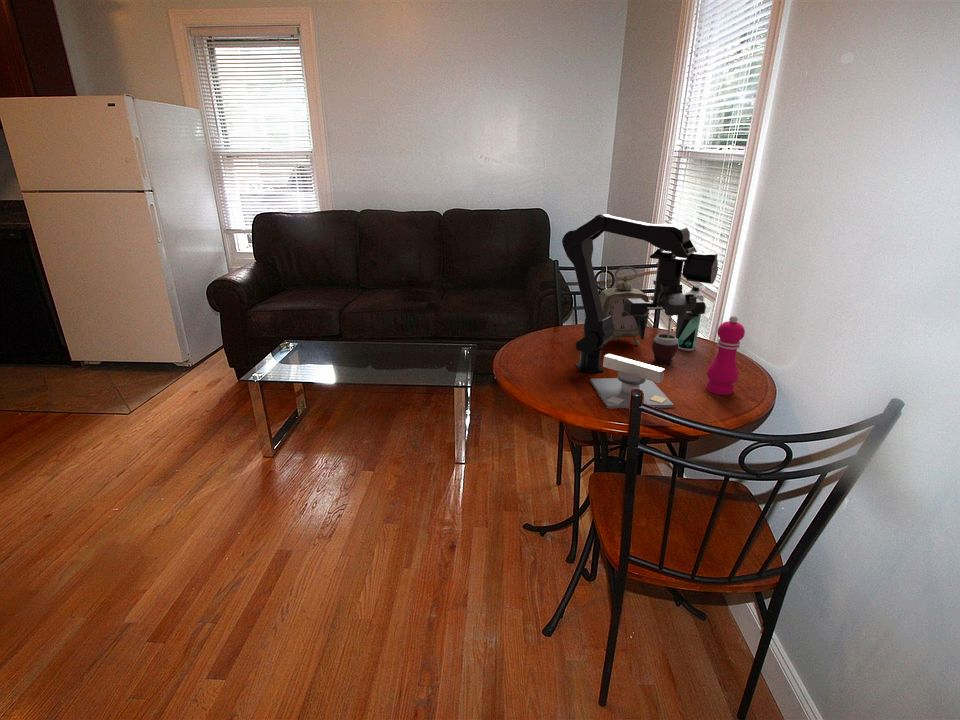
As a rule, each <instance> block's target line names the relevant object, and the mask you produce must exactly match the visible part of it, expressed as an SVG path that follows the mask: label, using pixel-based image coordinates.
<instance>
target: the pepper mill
mask: <svg viewBox="0 0 960 720" xmlns="http://www.w3.org/2000/svg"><path fill="white" fill-rule="evenodd" d="M745 333H746V332H745V328H744V325H742V323H740V322H738V317H737V315H732V316H730V317H729V321H724V322H722V323H721V324H720V325H719V326H718V328H717V333H716V334H717V336H718V339H717V343H716V344H717V346H718V348H717V349H718V350H717V353H716V356H715V357H714V359H713V360H712V362H711V363H710V364H709V366H708V368H707V372H706V376H707V378H708V380H707V382H706V390H707V391H709V392H710V393H712V394H715V395H719V396H720V395H721V396H729V395H732V394H733V391H734V388H735V386H734V384H735V383H736V382H737V381H738V379H739V369H738V366H737V361H736V360H737V359H736V354H737V351H738V349H739V348H740V345H741V342H740V341H741V340H743V339H744V337H745Z"/></svg>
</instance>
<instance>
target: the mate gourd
mask: <svg viewBox="0 0 960 720" xmlns="http://www.w3.org/2000/svg"><path fill="white" fill-rule="evenodd" d="M671 323H672V316H668V328H667V333H660V334H657V335H656V336H655V337H654V338H653V342H652V343H651V344H652V346H651V348H652V353H653V358H654V361H653V362H652V363H653V365H658V364H664V365H666V366H667V367H671V365H672V364H671V363H672V362H673V358H674V357H675V356H676V354H677V352H678V350H679V349H678V339H677V338H676V335H675V336H674V335H672V334H670V333H671Z"/></svg>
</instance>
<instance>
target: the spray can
mask: <svg viewBox="0 0 960 720" xmlns="http://www.w3.org/2000/svg"><path fill="white" fill-rule="evenodd" d="M684 294H695V295H696V296H697V299H699V300H701V301H703V302H704V301H705V297H704V296H705V294H704V293H702V292H701V290H700V286H699V285H693V286H692V288H691V289H690V290H689V291H687V292H685V293H684ZM701 317H702V314H699V316H698V317H695V318H693V319H692V320H690V322H689V323H688V324H687V326H686V327H685V329H684V331H683V333H682V334H681V336H680V338H679V339H677V340H678V349H677V350H681V351H687V352H692V351H694V349H696V346H697V340H698V339H697V338H698V333H699V328H700V323H701Z"/></svg>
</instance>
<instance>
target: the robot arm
mask: <svg viewBox="0 0 960 720" xmlns="http://www.w3.org/2000/svg"><path fill="white" fill-rule="evenodd" d="M604 232H606V233H612V234H616V235H620V236H625V237H629V238H633V239H637V240H641V241H642V240H643V241H645V242H647V243H649V244H650V245H652V247H653V246H654V247H656V248H657V249H656V250H655V251H654V252H653V253H652V254H650V255H649V258H650V259H654V260H657V266H656V268H657V269H656V274H655V275H656V276H655V279H653V282H652V283H653V284H652V285H654V290H653V295H651V296H650V297H651V298H650V301H651V302H650V301H649V302H645V301H643V300H642V299H641V298H635V299H627V300H626V301H625V302H624V310H626V311H627V312H628V313H629V314H631V315H632V316H634V319H635V321H636V324H637V327H638V331H639V337H640V340H644V339H645V334H646V333H645V331H646V328H645V320H646V319H647V315H645V313H646V312H647V310H649V311H660V310H661V311H663V310H664V313H665V315H666V316H668V317H669V316H671V317H673V316H677V319H676V327H675V337H676V339H677V340H678V339H679V338H680V336H681V334H682V333H683V331H684V329H685V327H686V326H687V324H688V323H689V322H690V320H692V319H693V318H695V317H698V316H699V314H701V315H703V314H704V315H705V314H706V308H707V305H706V303H705V301H704V300H703V301H701V300H699V299H697V296H696V295H695V294H685V293H683V284H682V283H681V281H682V276H683V278H684V279H685V280H686V281H687V282H694V283H703V284H708V285H709V284H711V285H713V284H714V283H715V281H716V278H717V276H718V271H719V267H718V265H719V264H718V253H713V252H712V253H704V252H703V253H702V252H698V251H697V249H696V248H695V246H694V244H693V242H692V241H691V239H690V237H691V234H690V233H691V232H690V231H689V229H688V227H687V226H686V225H684V224H680V223H649V222H645V221H639V220H634V219H631V218H630V219H629V218H625V217H620V216H614V215H612V214H609V213H601V214H597V215H595V216H594V217H593V218H592V219H591V220H589V221H588V222H586V223H584V224H582V225H581V226H579V227H578V228H576V229H573V230H569V231H568V232H566V233H565V234H564V235H563V237H562V239H561V245H562V248H563V250H564V252H565V255H566V257H567V258H568V259H569V261H570V262H571V264H573V265H572V266H573V267H574V271H575V275H576V280H577V284H578V290H579V293H580V297H581V302H582V307H583V311H584V315H585V317H584V322H583V323H584V324H583V335H584V337H582V338H581V339H579V340H578V341H577V342H575V348H576V350H577V351H578V352H580V354H579V361H578V362H575V365H576V367H577V369H578V370H579V372H580V373H604V369H603V366H601V356H602V348H603V347H604V346H606V345H607V344H606V342H607V343H608V342H609V341H611V340H612V338H614V337H613V334H614V332H613V331H614V330H615V328H614V326H613V320H612V316H609V317H607V316H606V315H605V314H604V312H603V310H602V306H601V302H600V293H599V288H598V285H597V284H598V283H597V280H596V275H595V271H594V267H593V262H592V258H593V252H594V240H596V239H597V238H598V237H600V236H601V235H602V234H603V233H604ZM605 344H606V345H605Z"/></svg>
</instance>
